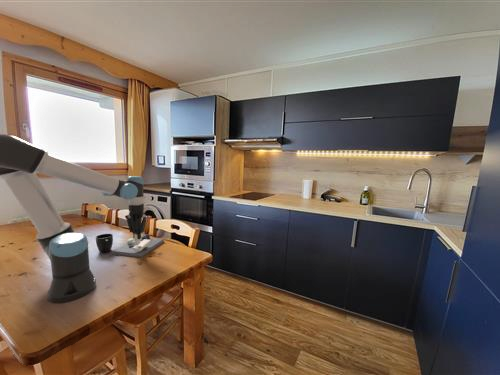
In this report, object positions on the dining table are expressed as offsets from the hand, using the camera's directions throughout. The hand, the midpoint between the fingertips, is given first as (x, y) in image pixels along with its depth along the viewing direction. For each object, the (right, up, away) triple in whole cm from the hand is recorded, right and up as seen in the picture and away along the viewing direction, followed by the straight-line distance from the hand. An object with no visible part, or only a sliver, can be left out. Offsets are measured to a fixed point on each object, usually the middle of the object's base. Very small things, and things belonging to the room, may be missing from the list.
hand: (137, 244), depth 118 cm
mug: (-21, -6, +4) cm, 22 cm away
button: (-10, -3, +12) cm, 16 cm away
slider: (-5, -4, +8) cm, 10 cm away
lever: (-4, -1, +18) cm, 19 cm away
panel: (-4, -5, +11) cm, 13 cm away
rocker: (+1, -1, +4) cm, 4 cm away
